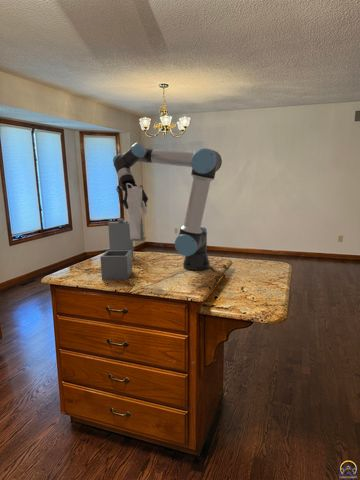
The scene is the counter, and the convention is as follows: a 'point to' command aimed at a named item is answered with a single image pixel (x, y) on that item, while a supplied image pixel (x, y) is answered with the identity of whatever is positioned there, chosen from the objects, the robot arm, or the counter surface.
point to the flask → (120, 236)
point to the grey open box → (116, 264)
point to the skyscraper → (135, 213)
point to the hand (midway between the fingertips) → (138, 212)
